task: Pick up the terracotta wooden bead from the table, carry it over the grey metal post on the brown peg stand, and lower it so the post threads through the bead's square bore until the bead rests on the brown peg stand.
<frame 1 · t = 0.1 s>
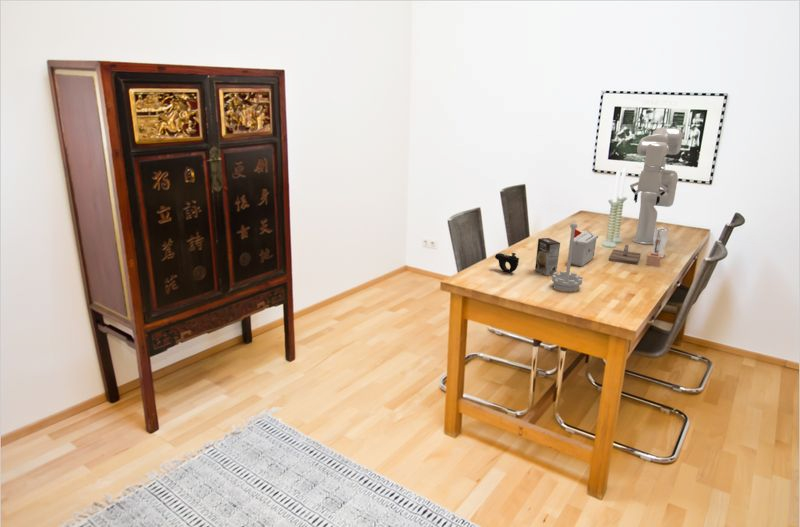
hand: (646, 203, 277), 31 cm above the table, tool pointing down, fingers open, 9 cm apart
controller: (505, 272, 267), on the table
bead: (652, 264, 284), on the table
flag stand: (565, 287, 248), on the table
brown peg stand: (624, 258, 293), on the table
coffee box: (545, 272, 267), on the table
stereo radio cassette player: (581, 261, 286), on the table
beer glass: (657, 256, 298), on the table
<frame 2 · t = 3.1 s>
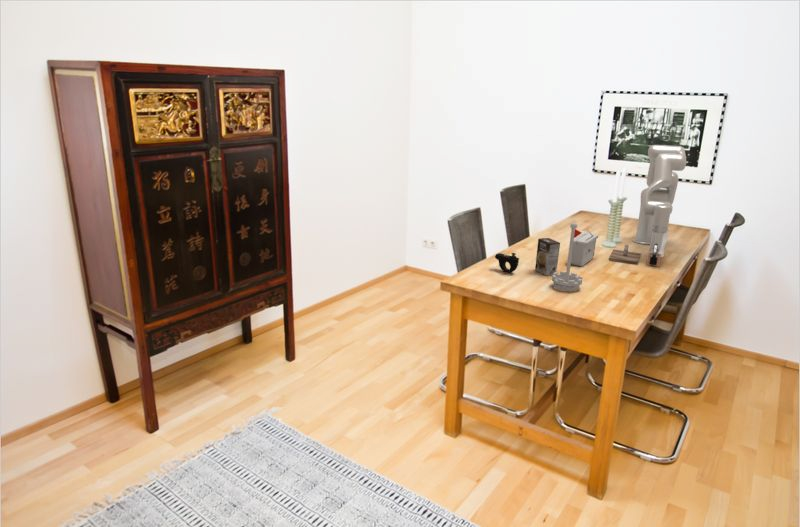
hand: (653, 262, 284), 1 cm above the table, tool pointing down, fingers closed on bead, 6 cm apart
bead: (652, 264, 284), on the table, touching gripper
everything else where it was.
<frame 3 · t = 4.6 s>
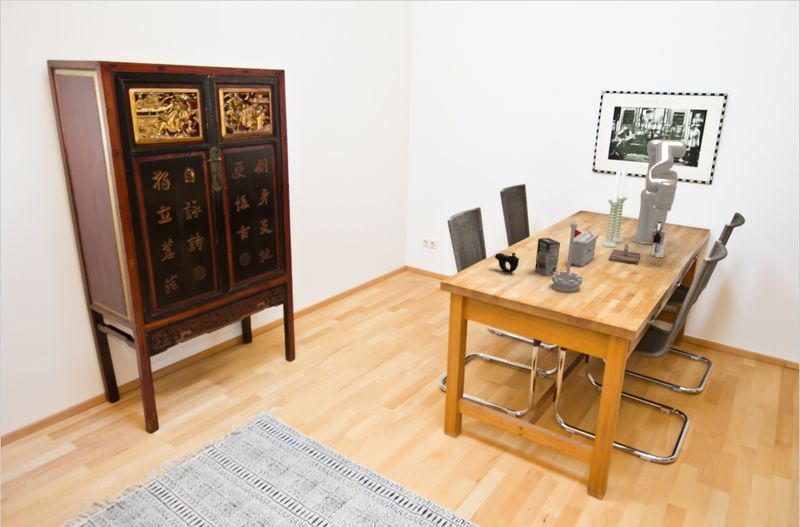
hand: (656, 240, 281), 12 cm above the table, tool pointing down, fingers closed on bead, 6 cm apart
bead: (656, 242, 281), point 11 cm above the table, touching gripper
everything else where it was.
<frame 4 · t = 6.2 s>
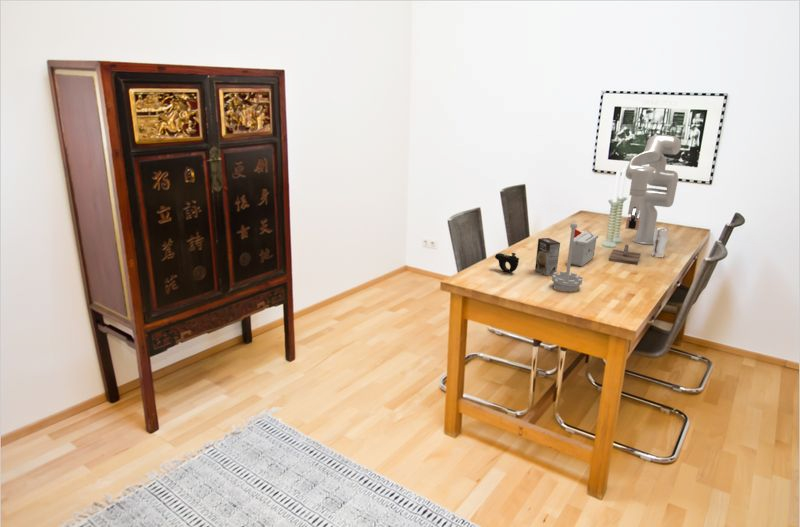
hand: (632, 226, 287), 17 cm above the table, tool pointing down, fingers closed on bead, 6 cm apart
bead: (632, 228, 287), point 17 cm above the table, touching gripper
everything else where it was.
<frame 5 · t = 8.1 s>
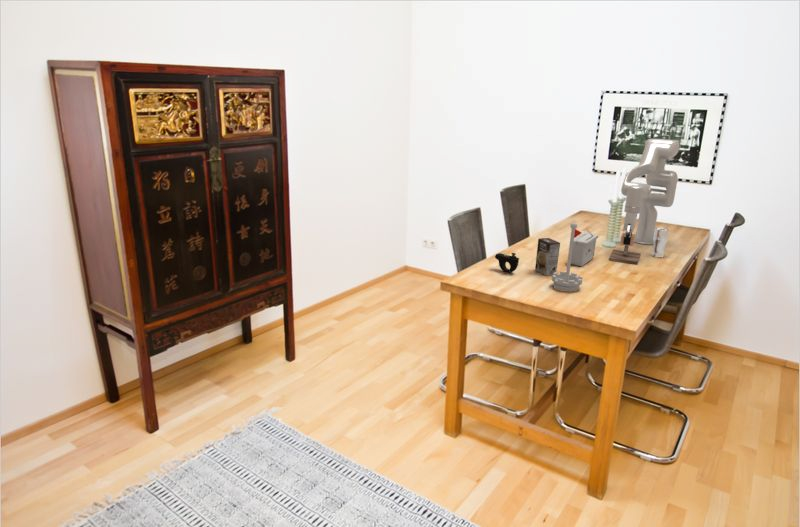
hand: (627, 242, 290), 9 cm above the table, tool pointing down, fingers closed on bead, 6 cm apart
bead: (626, 244, 291), point 8 cm above the table, touching gripper
everything else where it was.
when the fingers open (4 cm above the table, at t = 9.7 s): bead drops 2 cm, resting on brown peg stand.
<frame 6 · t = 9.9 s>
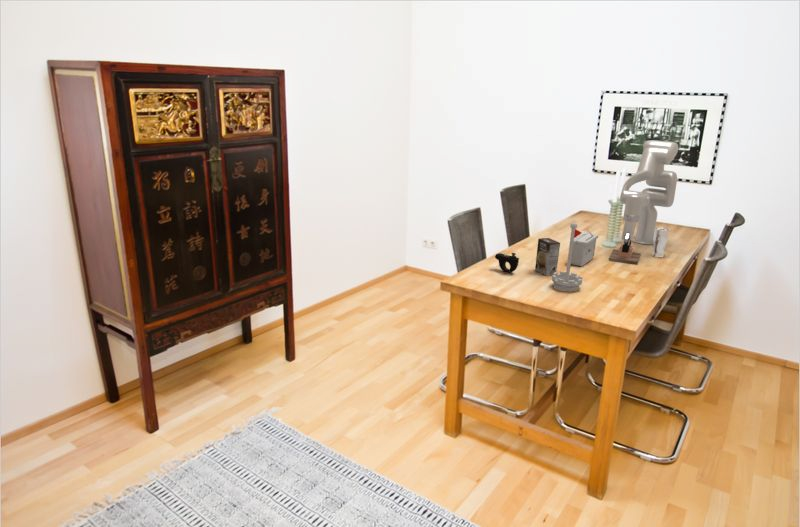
hand: (626, 250, 292), 5 cm above the table, tool pointing down, fingers open, 8 cm apart
bead: (625, 255, 293), point 1 cm above the table, touching brown peg stand
everything else where it was.
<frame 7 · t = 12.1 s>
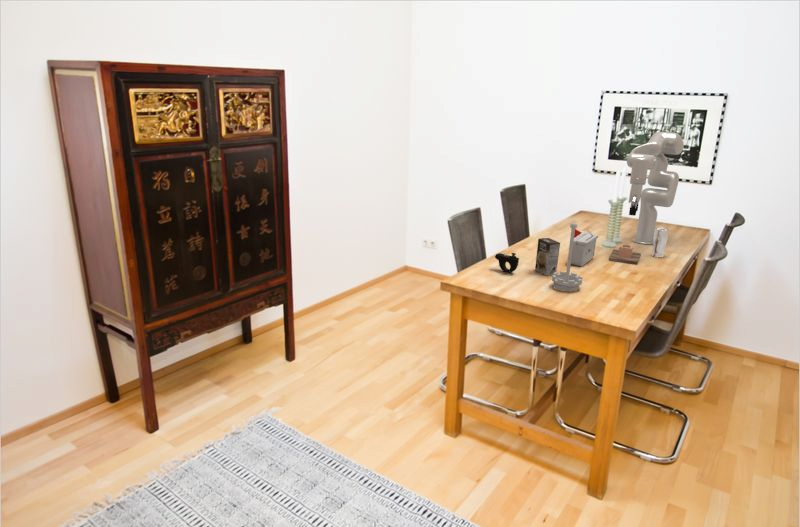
hand: (633, 212, 292), 23 cm above the table, tool pointing down, fingers open, 9 cm apart
nothing on the table moved.
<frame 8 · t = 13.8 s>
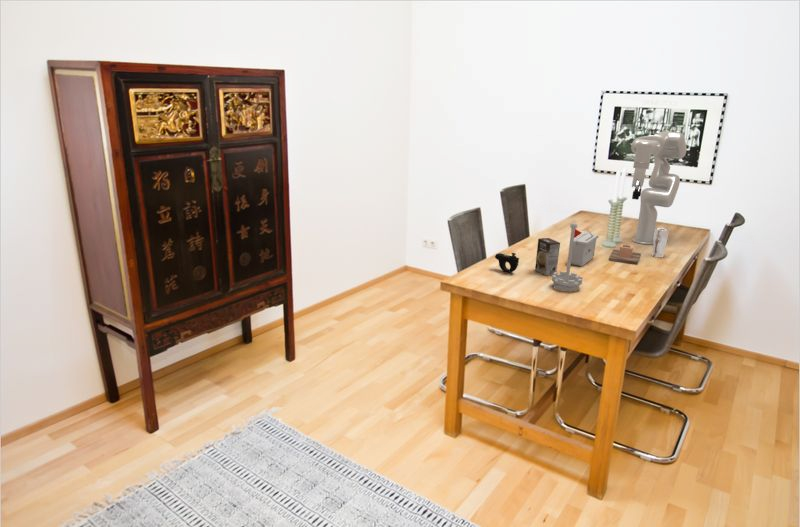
hand: (636, 197, 295), 30 cm above the table, tool pointing down, fingers open, 9 cm apart
nothing on the table moved.
at the end: bead 0.1 cm from the brown peg stand (horizontally); bead point 1.5 cm above the table; the gripper is holding nothing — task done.
